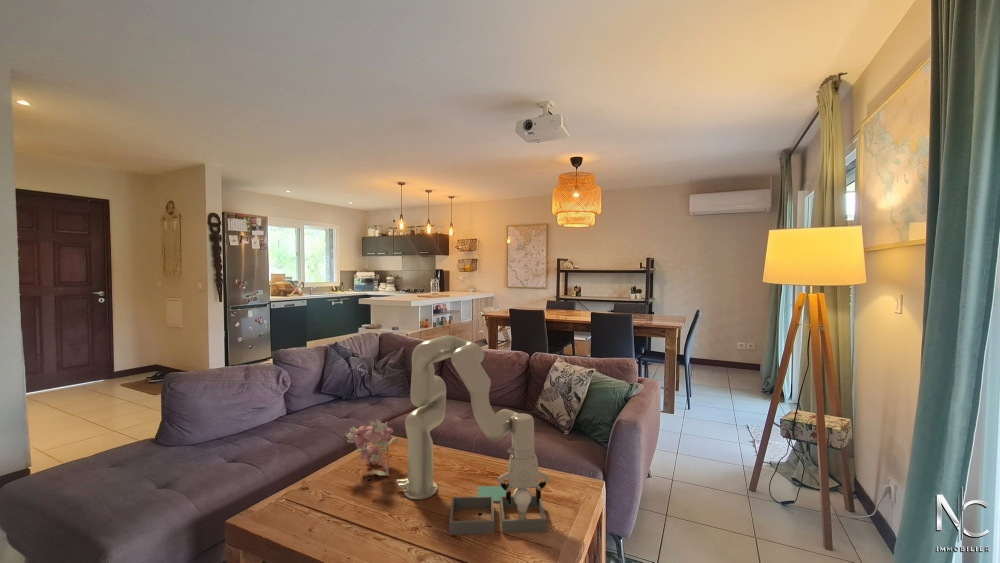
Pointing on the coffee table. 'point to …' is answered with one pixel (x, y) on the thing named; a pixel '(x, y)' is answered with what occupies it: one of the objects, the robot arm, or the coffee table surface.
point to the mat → (491, 492)
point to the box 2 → (523, 524)
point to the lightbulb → (522, 501)
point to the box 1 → (471, 526)
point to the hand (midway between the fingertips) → (523, 501)
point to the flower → (379, 439)
